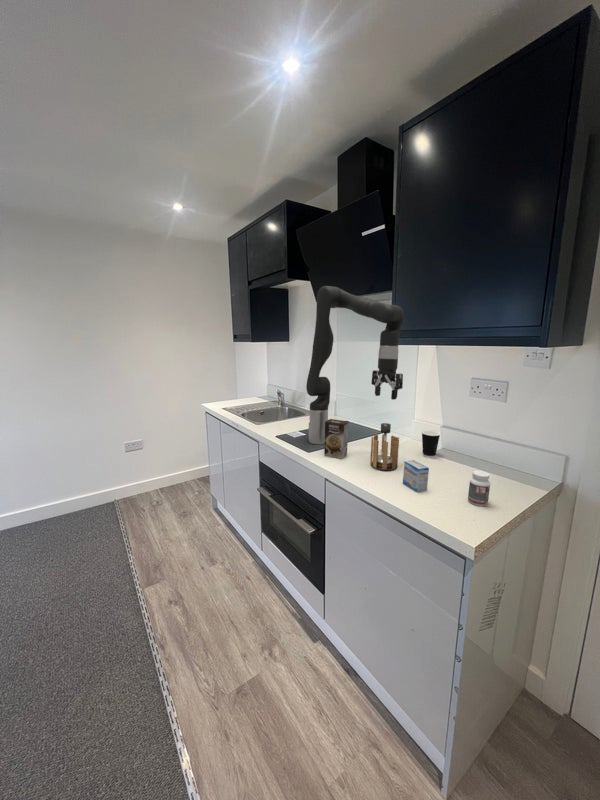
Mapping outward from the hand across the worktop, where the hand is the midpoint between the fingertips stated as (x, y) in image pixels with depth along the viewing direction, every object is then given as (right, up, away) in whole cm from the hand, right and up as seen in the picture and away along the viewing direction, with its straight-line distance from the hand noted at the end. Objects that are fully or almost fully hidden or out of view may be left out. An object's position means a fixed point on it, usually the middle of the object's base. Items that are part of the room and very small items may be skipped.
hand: (385, 397), depth 128 cm
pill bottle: (+23, -34, -26) cm, 49 cm away
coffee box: (-19, -26, +14) cm, 35 cm away
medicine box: (+6, -32, -16) cm, 36 cm away
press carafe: (+1, -28, +3) cm, 28 cm away
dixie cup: (+23, -26, +14) cm, 38 cm away
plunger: (0, -26, +2) cm, 26 cm away
